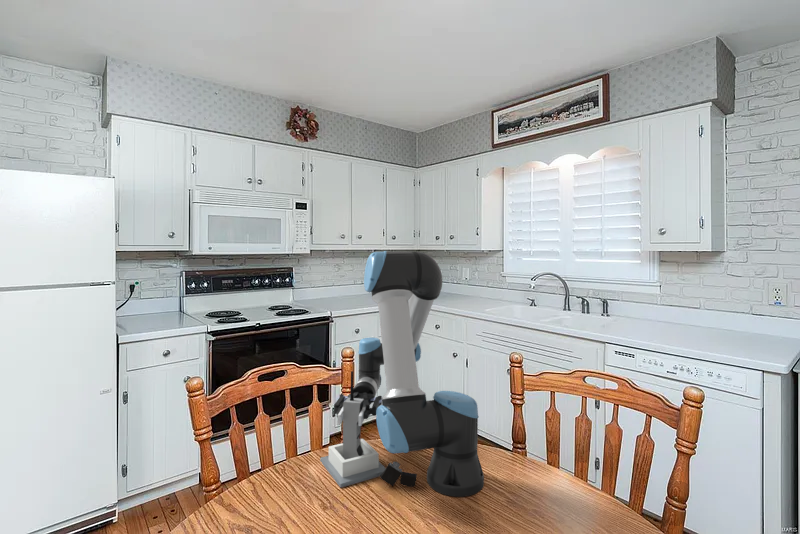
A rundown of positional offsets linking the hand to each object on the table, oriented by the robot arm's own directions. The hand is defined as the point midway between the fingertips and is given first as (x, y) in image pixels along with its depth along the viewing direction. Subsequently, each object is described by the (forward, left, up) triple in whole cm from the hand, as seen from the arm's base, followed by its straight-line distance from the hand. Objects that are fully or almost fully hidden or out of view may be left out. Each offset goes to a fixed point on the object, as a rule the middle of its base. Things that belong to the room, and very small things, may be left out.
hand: (349, 420), depth 111 cm
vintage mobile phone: (+4, -3, -13) cm, 14 cm away
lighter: (-10, -10, -16) cm, 21 cm away
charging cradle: (+4, -3, -15) cm, 16 cm away
